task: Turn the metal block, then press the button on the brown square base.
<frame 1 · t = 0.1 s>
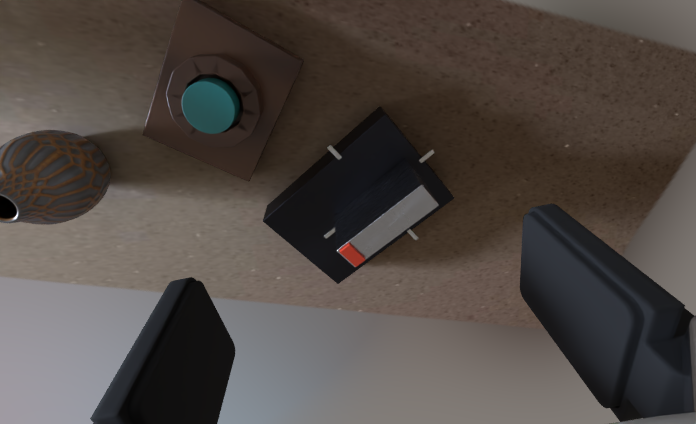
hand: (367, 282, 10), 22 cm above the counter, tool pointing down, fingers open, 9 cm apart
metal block: (381, 211, 28), point 6 cm above the counter, hinge at 0.0°
button: (211, 105, 25), point 4 cm above the counter, slide at 0.1 cm
vase: (82, 160, 31), on the counter
faucet base: (355, 195, 34), on the counter
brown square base: (225, 95, 29), on the counter
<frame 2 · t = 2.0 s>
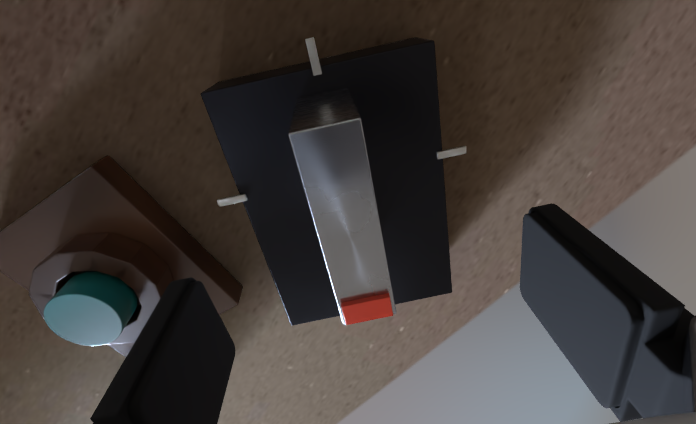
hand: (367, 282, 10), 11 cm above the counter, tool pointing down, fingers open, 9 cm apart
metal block: (345, 203, 14), point 6 cm above the counter, hinge at 0.0°
button: (93, 308, 18), point 4 cm above the counter, slide at 0.1 cm
faucet base: (344, 186, 21), on the counter
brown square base: (128, 262, 22), on the counter
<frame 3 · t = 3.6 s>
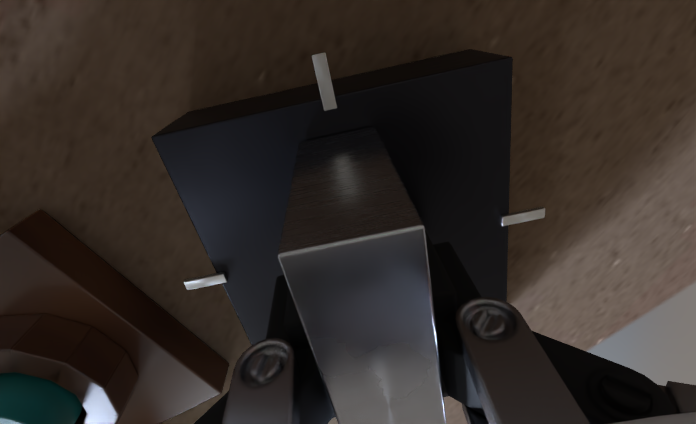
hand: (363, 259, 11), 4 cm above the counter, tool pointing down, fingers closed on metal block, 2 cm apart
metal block: (372, 310, 9), point 6 cm above the counter, hinge at -0.1°, touching gripper
button: (17, 421, 13), point 4 cm above the counter, slide at 0.1 cm
faucet base: (362, 246, 15), on the counter
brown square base: (80, 338, 17), on the counter
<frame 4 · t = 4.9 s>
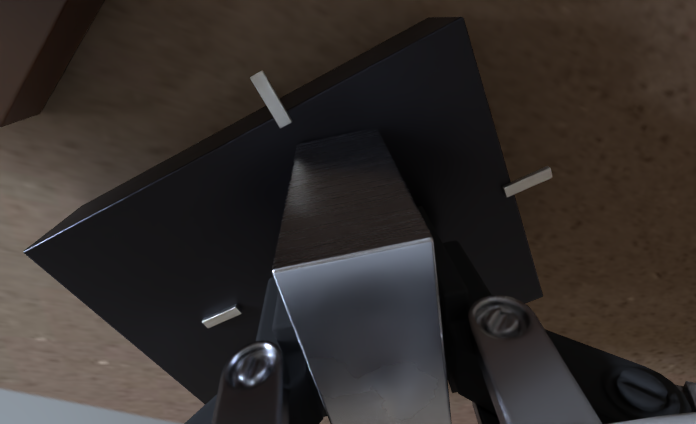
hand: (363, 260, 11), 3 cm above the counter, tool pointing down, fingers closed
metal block: (374, 320, 9), point 6 cm above the counter, hinge at 75.0°
faucet base: (310, 229, 14), on the counter
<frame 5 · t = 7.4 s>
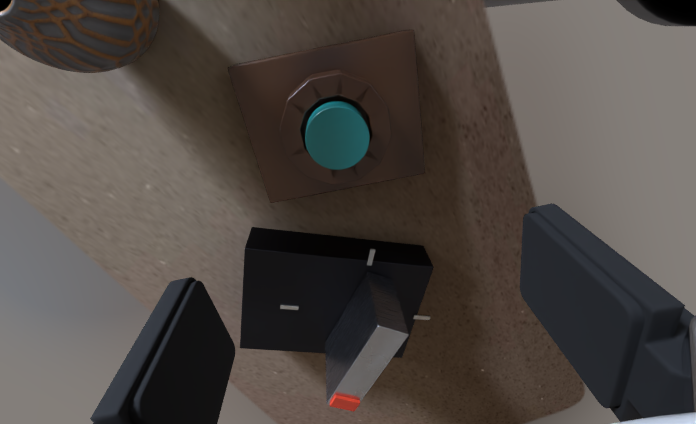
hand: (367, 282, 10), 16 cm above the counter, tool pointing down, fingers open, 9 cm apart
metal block: (361, 340, 26), point 6 cm above the counter, hinge at 75.0°
button: (337, 135, 20), point 4 cm above the counter, slide at 0.1 cm
faucet base: (331, 285, 31), on the counter
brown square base: (334, 119, 24), on the counter
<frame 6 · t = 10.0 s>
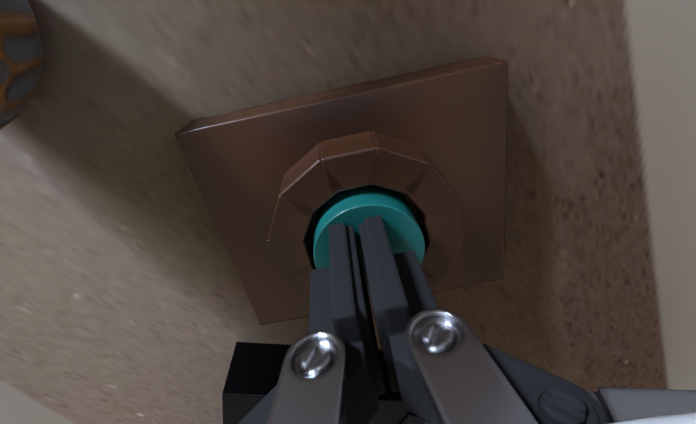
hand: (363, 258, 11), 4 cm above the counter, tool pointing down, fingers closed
button: (366, 239, 12), point 3 cm above the counter, slide at -0.6 cm, touching gripper
faucet base: (352, 404, 22), on the counter
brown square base: (358, 197, 15), on the counter
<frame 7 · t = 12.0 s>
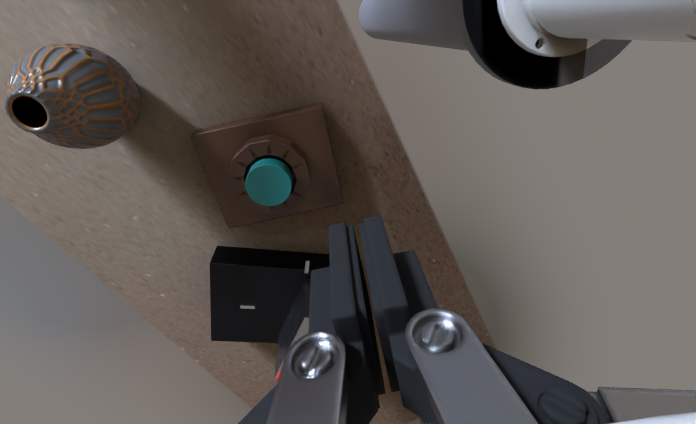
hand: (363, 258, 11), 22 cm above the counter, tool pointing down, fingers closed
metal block: (301, 330, 34), point 6 cm above the counter, hinge at 75.0°
button: (269, 182, 29), point 4 cm above the counter, slide at 0.1 cm
vase: (107, 89, 28), on the counter
faucet base: (283, 288, 39), on the counter
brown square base: (273, 165, 32), on the counter
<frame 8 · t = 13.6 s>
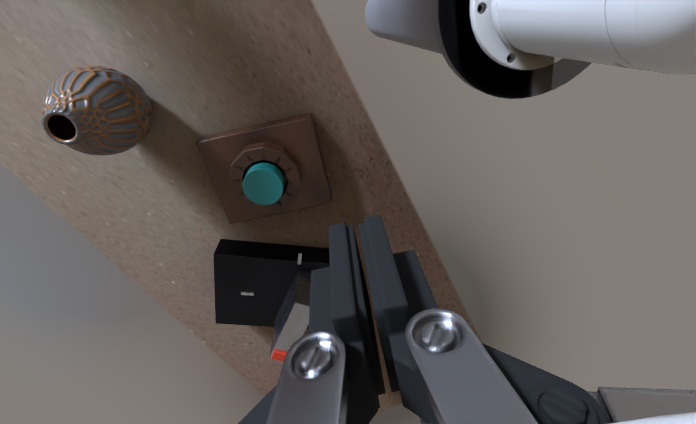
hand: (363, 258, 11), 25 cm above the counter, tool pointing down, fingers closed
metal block: (293, 315, 38), point 6 cm above the counter, hinge at 75.0°
button: (264, 183, 33), point 4 cm above the counter, slide at 0.1 cm
vase: (124, 102, 32), on the counter
faucet base: (280, 278, 43), on the counter
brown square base: (269, 168, 36), on the counter
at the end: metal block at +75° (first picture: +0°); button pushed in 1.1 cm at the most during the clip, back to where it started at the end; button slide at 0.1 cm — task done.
